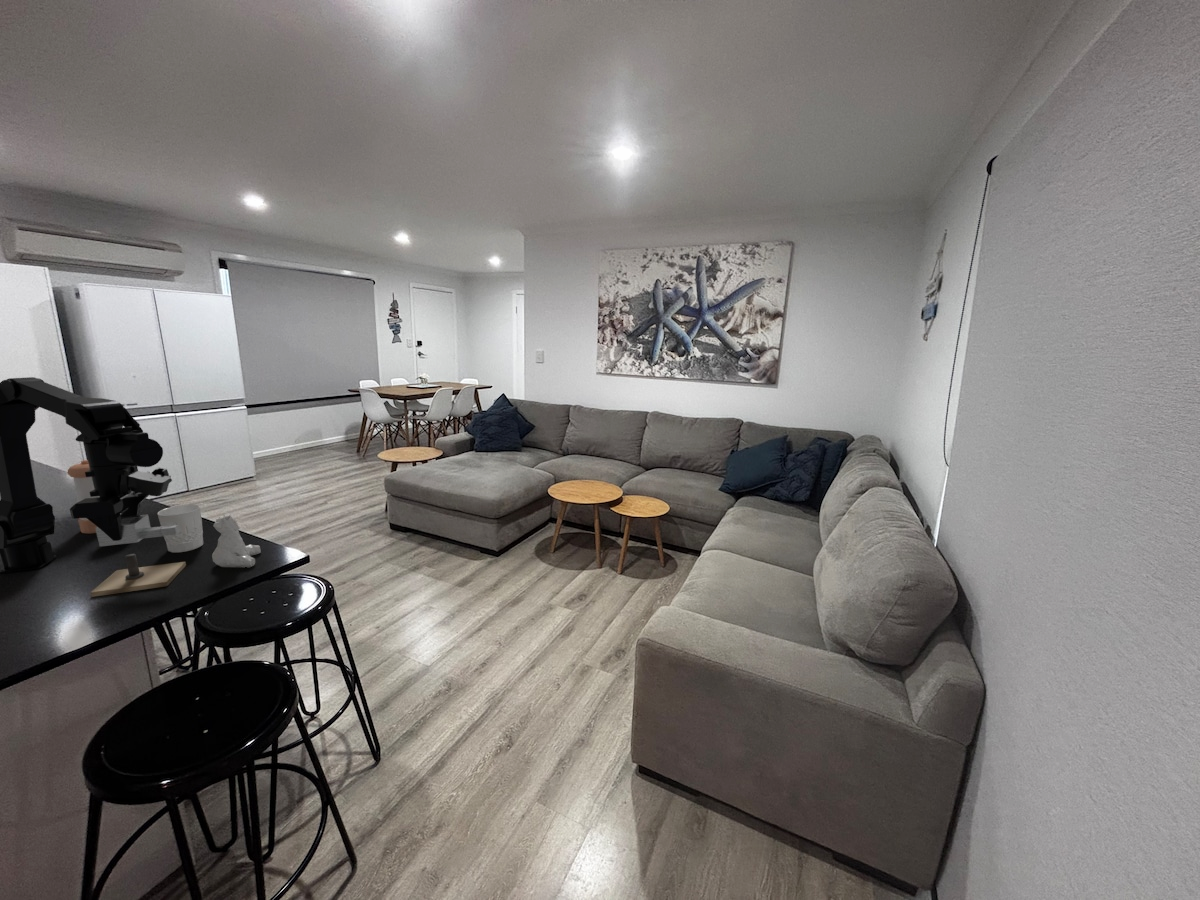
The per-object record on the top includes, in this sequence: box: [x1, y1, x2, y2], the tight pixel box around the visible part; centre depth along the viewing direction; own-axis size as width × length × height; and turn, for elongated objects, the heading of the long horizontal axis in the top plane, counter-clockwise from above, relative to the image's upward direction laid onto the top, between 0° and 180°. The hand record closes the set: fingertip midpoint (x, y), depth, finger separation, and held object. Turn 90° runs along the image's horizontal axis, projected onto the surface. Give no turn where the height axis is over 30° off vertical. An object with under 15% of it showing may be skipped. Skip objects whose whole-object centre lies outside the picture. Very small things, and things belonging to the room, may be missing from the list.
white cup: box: [156, 504, 204, 553], centre depth 116 cm, size 8×8×10 cm
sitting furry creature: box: [211, 513, 261, 568], centre depth 108 cm, size 10×9×12 cm
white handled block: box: [95, 514, 179, 547], centre depth 99 cm, size 12×6×4 cm, turn 114°
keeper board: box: [90, 553, 187, 598], centre depth 100 cm, size 12×10×6 cm
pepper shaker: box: [66, 459, 100, 534], centre depth 124 cm, size 7×7×19 cm
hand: (125, 534), depth 98 cm, fingers closed on white handled block, 6 cm apart
